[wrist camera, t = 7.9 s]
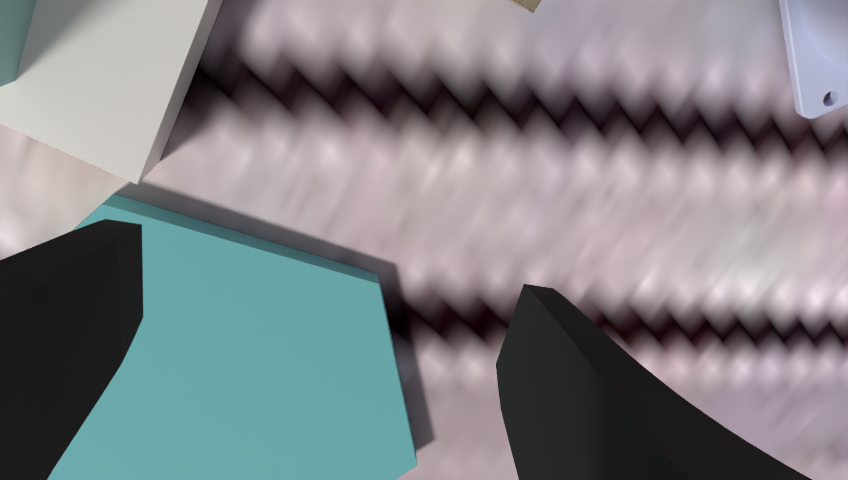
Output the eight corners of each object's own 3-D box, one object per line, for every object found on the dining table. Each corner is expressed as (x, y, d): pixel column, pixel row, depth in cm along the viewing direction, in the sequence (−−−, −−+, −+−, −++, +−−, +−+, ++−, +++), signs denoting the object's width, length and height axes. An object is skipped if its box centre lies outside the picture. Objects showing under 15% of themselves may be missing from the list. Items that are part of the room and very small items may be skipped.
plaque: (222, 97, 20) (-114, 392, 24) (208, 110, 18) (-153, 427, 22) (496, 385, 27) (199, 576, 31) (505, 415, 25) (189, 614, 29)
